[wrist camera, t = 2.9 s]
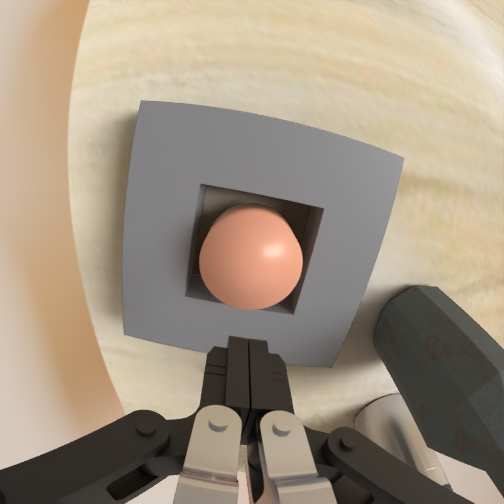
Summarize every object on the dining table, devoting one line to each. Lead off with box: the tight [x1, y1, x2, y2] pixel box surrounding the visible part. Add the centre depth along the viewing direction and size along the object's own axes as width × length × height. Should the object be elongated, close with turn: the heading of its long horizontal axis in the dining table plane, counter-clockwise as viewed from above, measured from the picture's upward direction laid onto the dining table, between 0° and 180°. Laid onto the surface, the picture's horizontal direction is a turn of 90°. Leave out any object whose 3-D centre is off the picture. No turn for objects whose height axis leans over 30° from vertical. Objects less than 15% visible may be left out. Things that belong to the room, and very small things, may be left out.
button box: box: [122, 100, 404, 368], centre depth 23 cm, size 20×20×4 cm
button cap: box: [199, 203, 303, 310], centre depth 21 cm, size 7×7×4 cm
